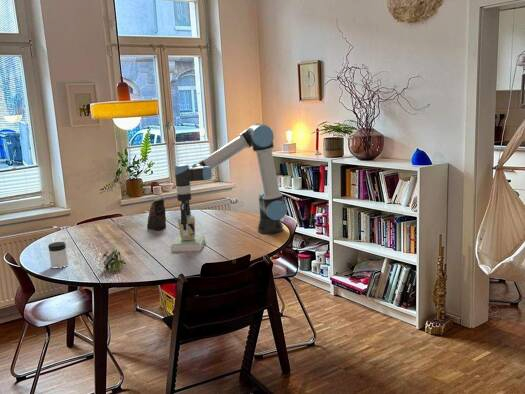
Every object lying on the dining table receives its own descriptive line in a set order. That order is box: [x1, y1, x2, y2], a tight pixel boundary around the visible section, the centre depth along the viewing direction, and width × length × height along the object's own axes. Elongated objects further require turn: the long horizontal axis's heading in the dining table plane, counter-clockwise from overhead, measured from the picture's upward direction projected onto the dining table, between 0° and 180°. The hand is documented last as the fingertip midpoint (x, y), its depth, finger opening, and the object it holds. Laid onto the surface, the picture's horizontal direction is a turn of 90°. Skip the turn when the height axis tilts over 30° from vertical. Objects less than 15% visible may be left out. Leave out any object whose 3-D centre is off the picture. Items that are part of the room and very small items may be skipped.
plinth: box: [170, 235, 206, 253], centre depth 280 cm, size 16×16×4 cm
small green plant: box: [102, 249, 127, 273], centre depth 249 cm, size 11×11×12 cm
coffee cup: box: [177, 214, 196, 240], centre depth 278 cm, size 9×9×12 cm
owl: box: [146, 195, 167, 232], centre depth 320 cm, size 13×13×20 cm
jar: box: [48, 241, 69, 268], centre depth 257 cm, size 9×8×12 cm
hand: (187, 232), depth 279 cm, fingers closed on coffee cup, 9 cm apart
